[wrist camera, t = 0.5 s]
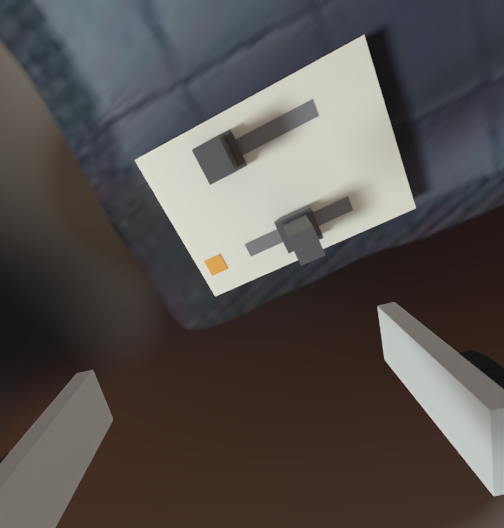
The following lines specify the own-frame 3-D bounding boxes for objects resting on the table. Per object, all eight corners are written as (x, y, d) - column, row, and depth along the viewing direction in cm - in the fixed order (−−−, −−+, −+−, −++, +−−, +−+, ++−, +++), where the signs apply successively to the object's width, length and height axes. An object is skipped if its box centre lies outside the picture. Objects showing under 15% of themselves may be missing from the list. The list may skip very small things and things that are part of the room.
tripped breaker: (309, 205, 33) (320, 219, 28) (321, 235, 34) (335, 254, 29) (274, 221, 34) (278, 238, 28) (287, 250, 35) (294, 272, 29)
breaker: (230, 129, 30) (225, 127, 25) (247, 164, 32) (246, 170, 26) (194, 148, 31) (181, 151, 26) (211, 182, 32) (203, 192, 27)
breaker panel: (354, 43, 31) (364, 34, 28) (403, 202, 36) (416, 208, 33) (144, 158, 35) (134, 160, 32) (217, 285, 40) (215, 296, 37)
